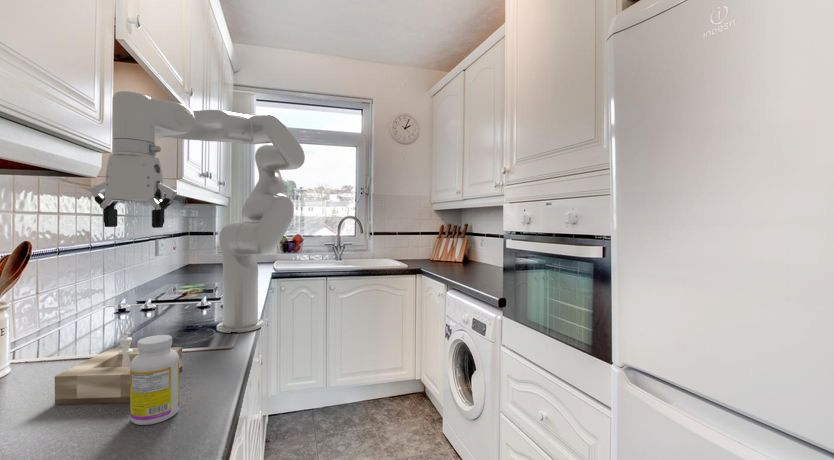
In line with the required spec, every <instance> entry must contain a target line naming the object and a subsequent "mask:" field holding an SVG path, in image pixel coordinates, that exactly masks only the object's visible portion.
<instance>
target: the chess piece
mask: <svg viewBox="0 0 834 460" xmlns="http://www.w3.org/2000/svg"><path fill="white" fill-rule="evenodd" d="M120 334H121V335H123V337H121V338H120V339H119V341H118V342H119V344H120V346H121V347H120V348H122V350H121V351H119V354H123V358H122V365H121V367H130V358H129V353H131V352H132V351H133V350H132V349H130V348H131V347H130V346H131V343H132V342H133V338H132V337H130V335H131V332H130V331H129V329H128V328H124V329H123V331H121V332H120Z"/></svg>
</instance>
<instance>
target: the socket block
mask: <svg viewBox="0 0 834 460" xmlns="http://www.w3.org/2000/svg"><path fill="white" fill-rule="evenodd" d="M129 348H130V349H132V350H133V351H132V352H131V353H129V358H130V363H131V361H132V360H133V358H135V357H136V356H137V355H139V351H138V349H137V347H129ZM121 350H122V347H117V348H116V347H115V348H110V349H107V350H105V351H104V352H101V353H100V354H97V355H95V356H93V357H91V358H89V359H87V360H85V361H83V362H80V363H79V364H77V365H75V366H72V367H70V368H69V369H67V370H64V371H63V372H61V373H58V374H56V375H55V376H54V406H55V405H56V406H58V405H59V406H60V405H62V406H63V405H66V406H67V405H85V404H86V405H91V404H120V403H121V404H123V403H130V367H121V365H122V358H123V354H119V351H121ZM171 350H174V351H176V352H177V353H178V355H179V374H180V373H181V372H183V347H182V346H178V347H172V346H171Z"/></svg>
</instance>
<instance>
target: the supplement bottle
mask: <svg viewBox="0 0 834 460" xmlns="http://www.w3.org/2000/svg"><path fill="white" fill-rule="evenodd" d="M172 344H173V336H172V335H170V334H158V335H151V336H150V335H149V336H146V337H142V338H140V339H138V341H137V345H136V346H137V347H136V348H137V349H138V351H139V355H137V356H136V357H135V358H133V360H132V361H131V363H130V402H129V403H130V420H131V422H132V423H133V424H135V425H140V426H148V425H155V424H158V423H162V422H164V421H165V422H166V421H167V420H168V419H170V418H172V417H173V416H175V415H176V414H177V413H178V412H179V409H180V373H179V355H178V353H177V352H176V351H174V350H171V347H172Z"/></svg>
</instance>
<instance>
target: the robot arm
mask: <svg viewBox="0 0 834 460" xmlns="http://www.w3.org/2000/svg"><path fill="white" fill-rule="evenodd" d="M111 108H112V154H109V155H108V156H109V157H108V158H107V159H108V160H107V164H106V171H105V178H104V179H105V180H104V182H102V183H100V184H98V185H96V186H94V187H91V188H90V190H89V191H90V193H91V195H92V197H93V199H94V201H95V203H97V204H98V205H99V207H100V208H101V209H103V217H102V218H103V224H104V225H103V226H104V227H105V228H116V227H118V209H117V208H116V206H118V204H119V203H120V202H121V201H124V202H144V203H145V202H148V203H150V205H151V206H152V207H153V208H154V209H152V210H151V228H153V229H155V228H156V229H159V228H160V229H161V228H163V227H164V224H165V211H166V210H167V209H168V207H169V206H170V205H171V204H172V203H173V200H175V198H176V196H177V194H178V192H177V190H175V189H174V188H171V187H170V186H167V185H165V184H164V178H163V170H162V165H161V162H160V159H159V158H158V157H156V153H161V150H162V149H161V146H160V145H156V142H155V141H156V138H157V139H158V138H159V139H168V140H169V139H171V140H184V141H185V140H186V141H200V142H201V141H202V142H218V143H220V142H221V143H232V144H233V143H234V144H242V145H261V146H260V147H258V148H257V150H256V151H255V153H254V158H255V159H254V160H255V164H256V168H257V171H258V181H257V183H256V184H255V186H254V187H253V189H252V191H251V192H250V193H249V195H248V197H247V198H246V200H245V202H244V204H243V206H242V208H241V215H242V218H243V219H244V220H245V221H244V220H243V221H241V220H240V221H232V222H229V223H227V224H225V225H224V226H223V227H222V228H221V229H220V232H219V235H218V241H219V248H220V252H221V258H222V259H221V260H222V321H221V322H219V323H218V324H216V331H217V332H220V333H226V334H232V333H231V332H238V333H246V332H252V331H255V330H258V329H261V328H262V327H263V326H264V320H262V319H260V318H259V308H258V307H259V290H258V289H259V266H258V261H257V259H256V255H257V256H267V255H269V254H271V253H273V252H274V251H275V250H276V249H277V248H278V246H279V245H280V243H281V241H282V239H283V237H284V235H286V232H287V230H288V228H289V226H290V224H291V222H292V221H293V218H294V211H295V208H294V203H293V201H292V199H291V198H290V197H289V196H287V195H285V188H286V186H285V182H284V179H283V177H282V174H281V172H280V171H288V170H297V169H299V168H301V167H302V166H303V164H304V163H305V160H306V157H305V156H306V155H305V152H304V149H303V147H302V145H301V144H300V143H299V141H298V139H296V137H295V136H294V135H293V133H292V131H291V130H290V129H289V128H288V126H287V125H286V124H285V123H284V122H283V121H282V119H281V118H279V117H278V116H277V115H275V114H272V113H264V114H263V113H262V114H254V115H253V114H244V113H239V112H238V113H237V112H232V111H226V110H222V109H204V110H203V109H202V110H191V108H189V107H187V106H186V105H184V104H182V103H180V102H176V101H171V100H163V99H159V98H152V97H150V96H149V95H146V94H144V93H141V92H136V91H129V90H127V91H126V90H122V91H117V92H114V94H113V95H112V107H111ZM103 192H104V194H105V196H104V195H103ZM165 194H166V195H165ZM238 333H237V334H238Z"/></svg>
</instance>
